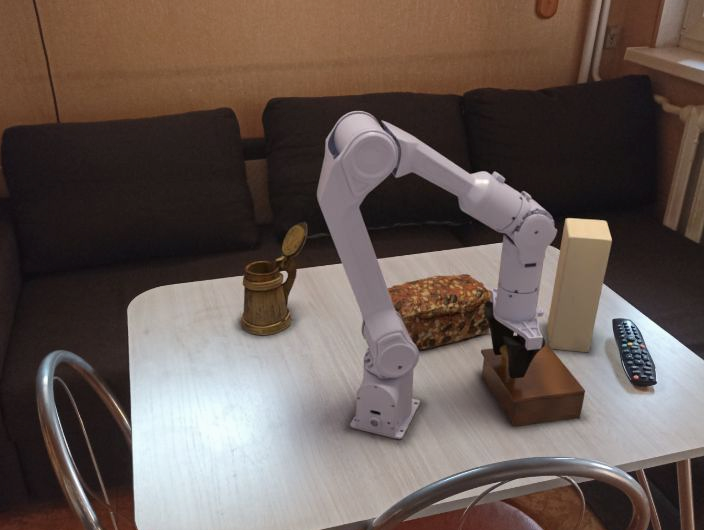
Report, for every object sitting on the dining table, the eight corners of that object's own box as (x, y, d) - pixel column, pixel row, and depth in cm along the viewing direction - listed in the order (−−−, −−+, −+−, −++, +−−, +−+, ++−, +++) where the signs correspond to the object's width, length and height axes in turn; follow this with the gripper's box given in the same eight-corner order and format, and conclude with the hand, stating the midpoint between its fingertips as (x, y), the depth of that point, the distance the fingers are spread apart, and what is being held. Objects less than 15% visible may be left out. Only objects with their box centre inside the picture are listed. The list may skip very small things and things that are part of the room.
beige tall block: (593, 353, 118) (617, 239, 108) (549, 349, 119) (567, 236, 109) (589, 330, 125) (610, 220, 114) (547, 326, 126) (564, 217, 116)
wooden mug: (321, 321, 129) (318, 230, 120) (252, 340, 123) (244, 246, 114) (300, 300, 136) (296, 213, 126) (234, 318, 130) (225, 228, 121)
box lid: (512, 402, 100) (516, 379, 98) (480, 352, 111) (482, 331, 109) (584, 393, 101) (589, 371, 99) (545, 345, 113) (549, 323, 111)
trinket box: (513, 426, 102) (516, 402, 100) (481, 374, 113) (484, 352, 111) (580, 417, 103) (584, 394, 101) (542, 367, 115) (545, 345, 113)
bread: (399, 358, 118) (400, 306, 113) (372, 328, 126) (373, 279, 121) (493, 335, 124) (499, 285, 119) (462, 308, 132) (466, 260, 127)
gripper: (569, 306, 92) (554, 389, 99) (525, 259, 105) (515, 337, 111) (518, 311, 91) (507, 395, 98) (480, 263, 103) (472, 341, 110)
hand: (508, 364), depth 105 cm, fingers open, 6 cm apart
